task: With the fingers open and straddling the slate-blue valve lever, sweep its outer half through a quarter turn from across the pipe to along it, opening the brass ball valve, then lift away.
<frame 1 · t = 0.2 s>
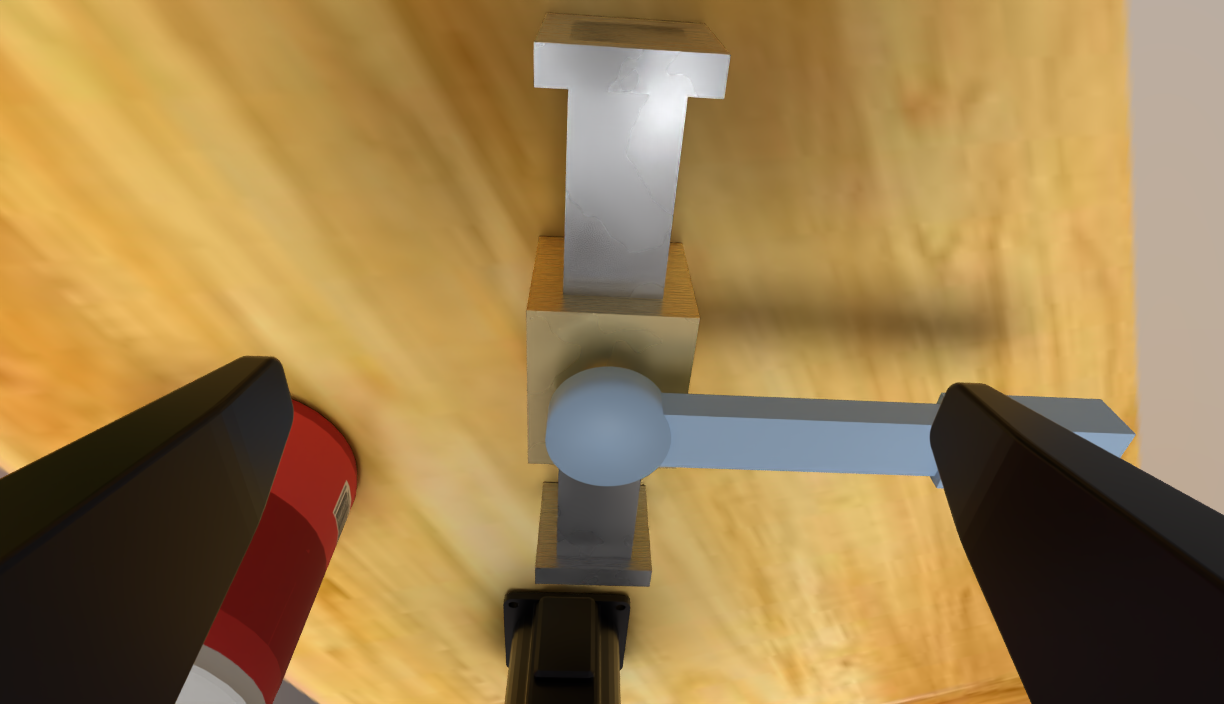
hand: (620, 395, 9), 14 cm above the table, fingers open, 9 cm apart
pipe valve: (606, 313, 25), on the table
canned food: (274, 452, 29), on the table
lever: (826, 431, 20), point 6 cm above the table, hinge at 0.0°
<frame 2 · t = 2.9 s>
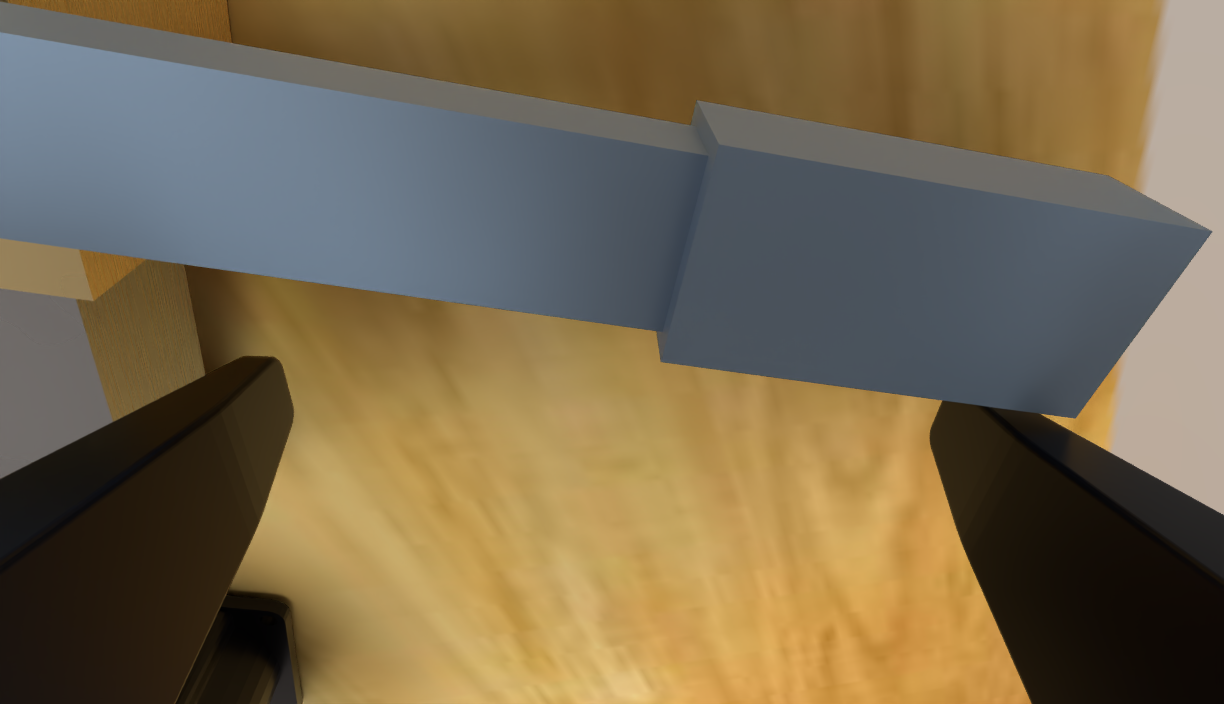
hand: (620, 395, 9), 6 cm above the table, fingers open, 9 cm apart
lever: (363, 173, 7), point 6 cm above the table, hinge at 0.4°, touching gripper
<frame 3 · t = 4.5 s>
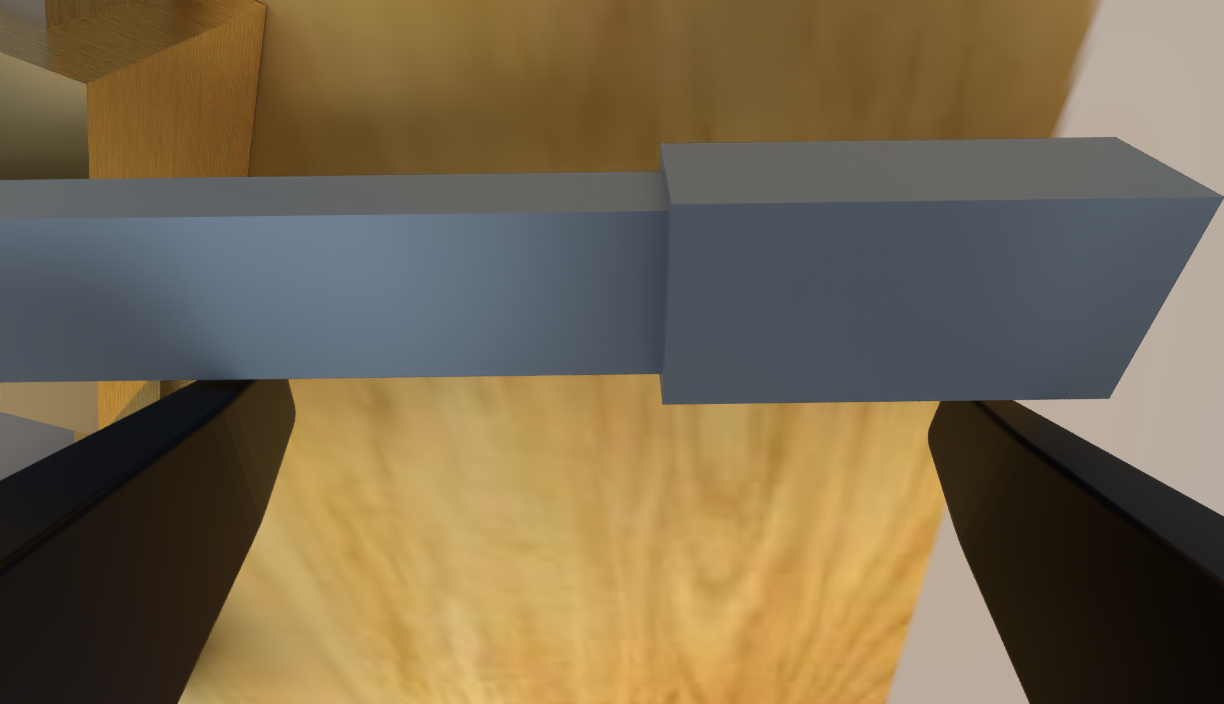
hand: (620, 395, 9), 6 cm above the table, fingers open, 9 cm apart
pipe valve: (110, 109, 13), on the table
lever: (360, 270, 8), point 6 cm above the table, hinge at 24.0°, touching gripper
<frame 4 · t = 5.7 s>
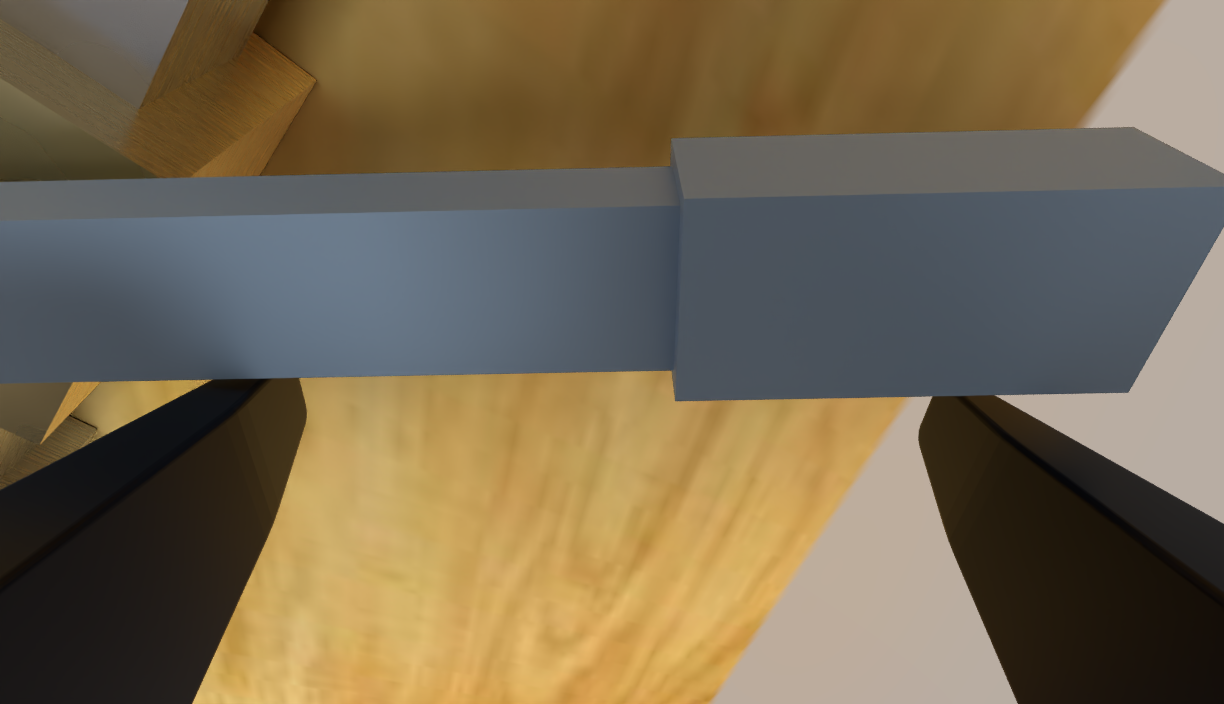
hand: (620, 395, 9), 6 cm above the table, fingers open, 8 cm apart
pipe valve: (121, 111, 13), on the table
lever: (371, 268, 8), point 6 cm above the table, hinge at 43.2°, touching gripper
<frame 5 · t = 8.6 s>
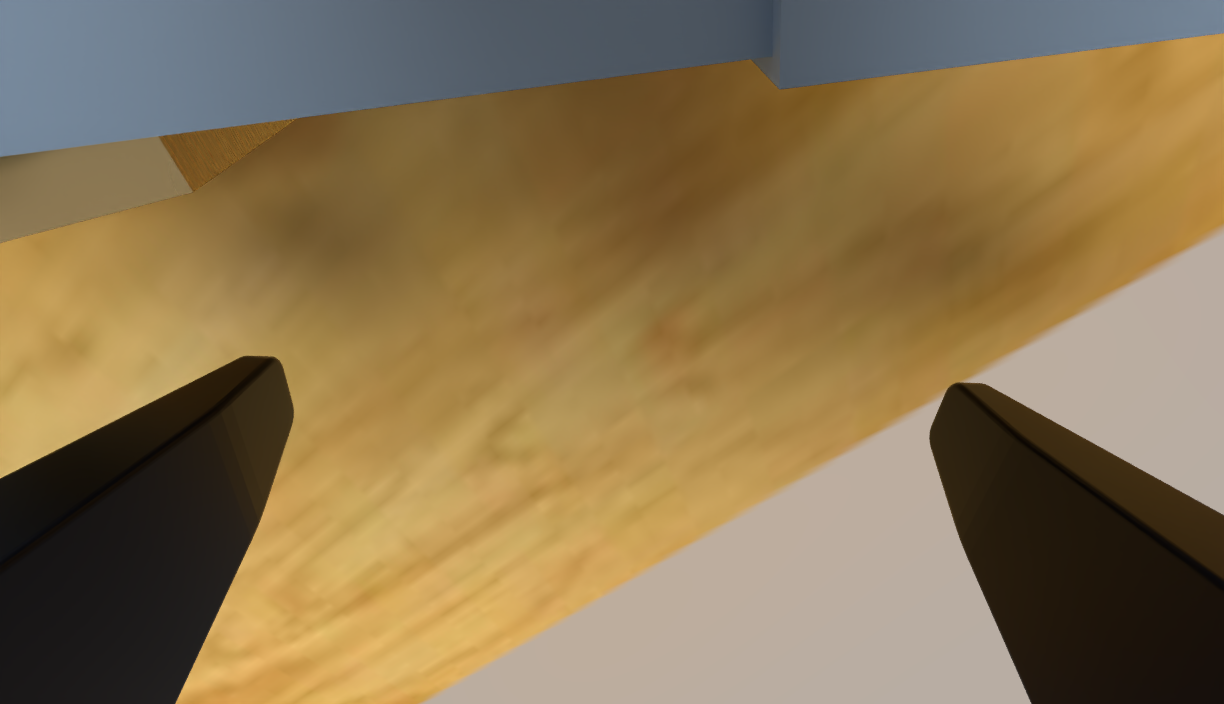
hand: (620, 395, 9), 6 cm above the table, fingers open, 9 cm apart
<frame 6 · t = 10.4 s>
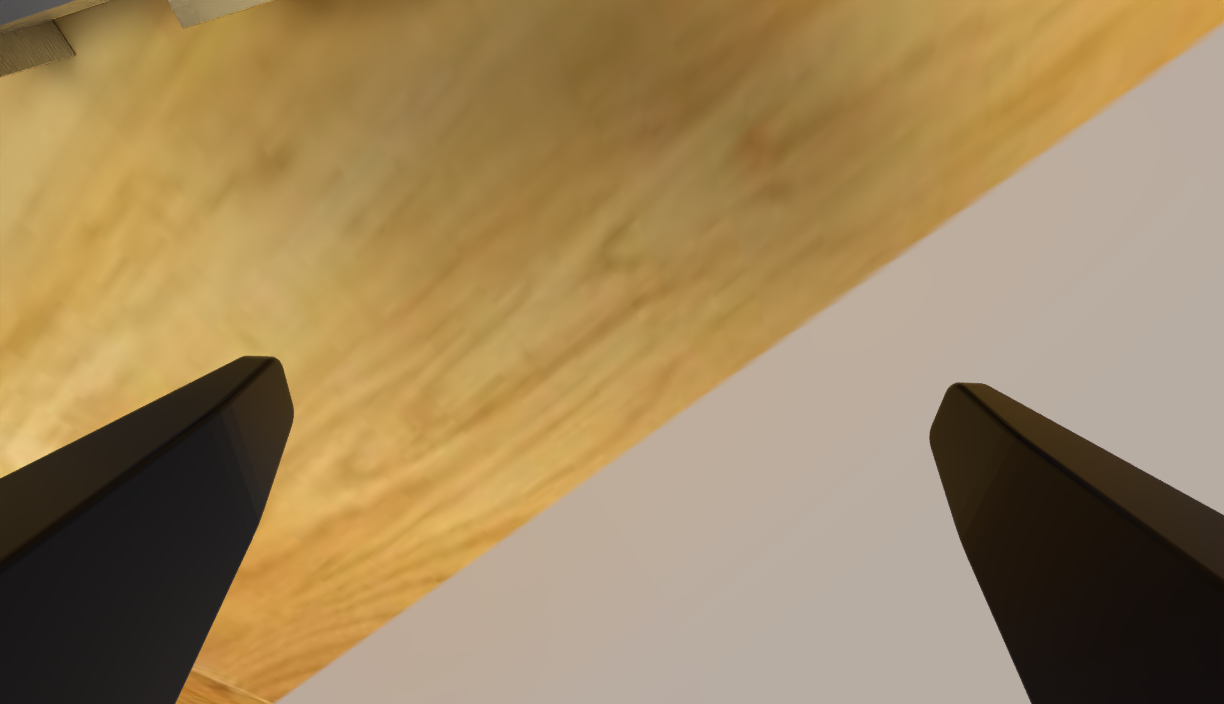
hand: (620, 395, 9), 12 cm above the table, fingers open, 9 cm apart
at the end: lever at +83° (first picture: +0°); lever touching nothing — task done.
